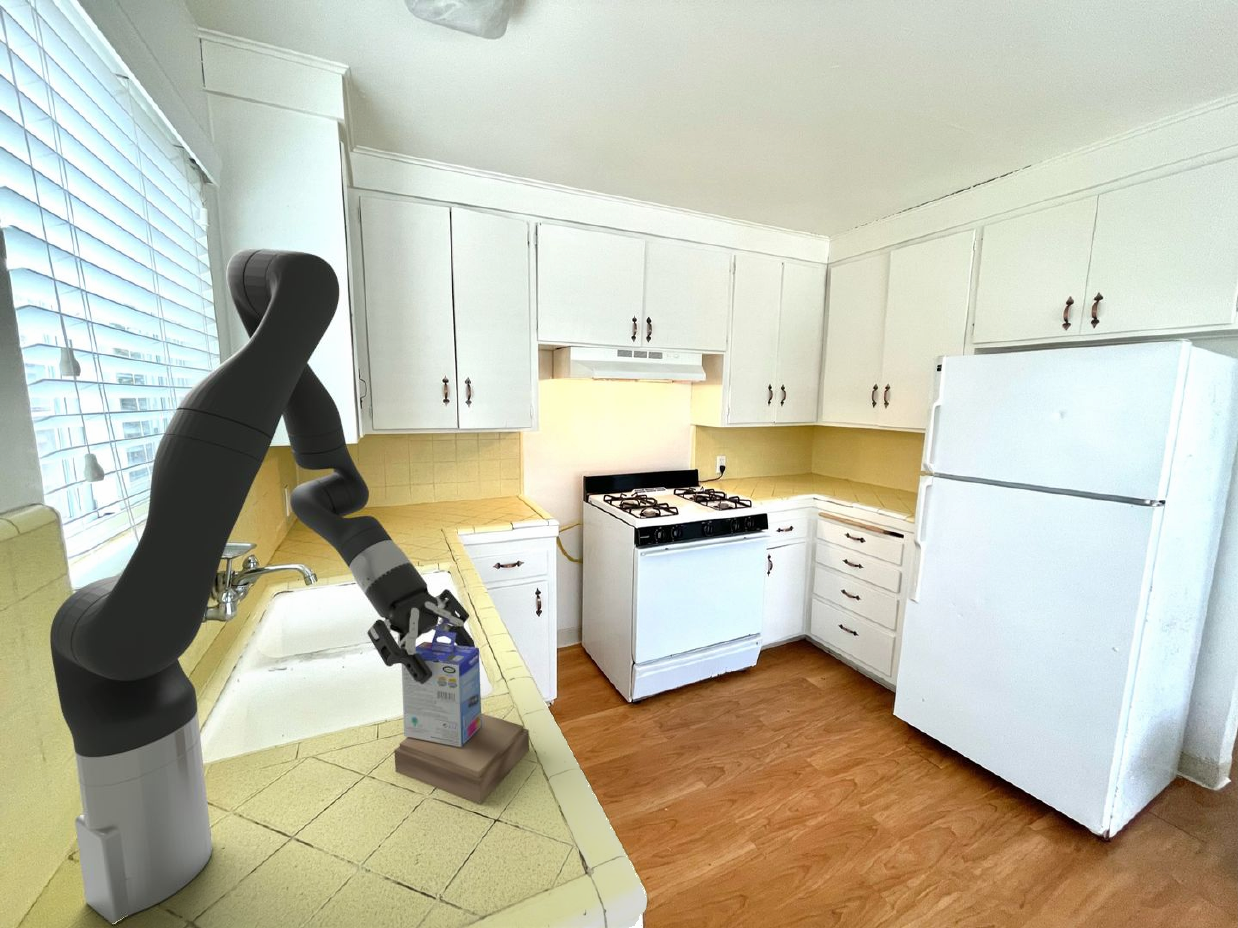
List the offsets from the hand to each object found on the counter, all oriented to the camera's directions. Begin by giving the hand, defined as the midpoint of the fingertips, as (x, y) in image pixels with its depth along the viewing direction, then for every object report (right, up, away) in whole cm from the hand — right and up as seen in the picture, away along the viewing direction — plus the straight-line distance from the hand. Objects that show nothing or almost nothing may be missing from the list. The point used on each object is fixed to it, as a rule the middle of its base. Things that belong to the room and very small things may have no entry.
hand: (450, 665), depth 69 cm
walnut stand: (+2, -14, +1) cm, 14 cm away
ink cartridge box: (-1, -10, +1) cm, 10 cm away
